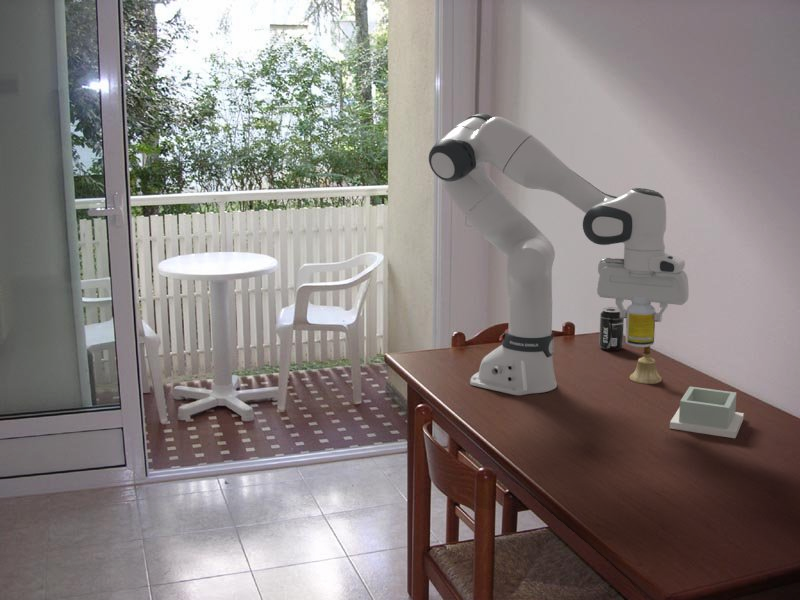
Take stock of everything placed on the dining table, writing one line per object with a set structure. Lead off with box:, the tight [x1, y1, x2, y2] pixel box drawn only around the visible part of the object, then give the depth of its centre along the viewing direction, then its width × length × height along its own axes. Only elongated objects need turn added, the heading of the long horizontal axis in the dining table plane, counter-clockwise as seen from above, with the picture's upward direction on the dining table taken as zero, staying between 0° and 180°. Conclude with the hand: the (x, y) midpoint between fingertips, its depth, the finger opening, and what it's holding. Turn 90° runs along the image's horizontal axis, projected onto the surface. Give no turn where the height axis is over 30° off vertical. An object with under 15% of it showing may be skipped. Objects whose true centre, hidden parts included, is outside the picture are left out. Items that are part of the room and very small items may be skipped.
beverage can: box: [598, 306, 625, 352], centre depth 261 cm, size 7×7×12 cm
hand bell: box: [629, 346, 663, 385], centre depth 231 cm, size 8×8×16 cm
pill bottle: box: [625, 297, 656, 348], centre depth 203 cm, size 6×6×12 cm
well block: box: [669, 386, 745, 439], centre depth 200 cm, size 14×13×6 cm
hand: (640, 319), depth 203 cm, fingers closed on pill bottle, 6 cm apart
